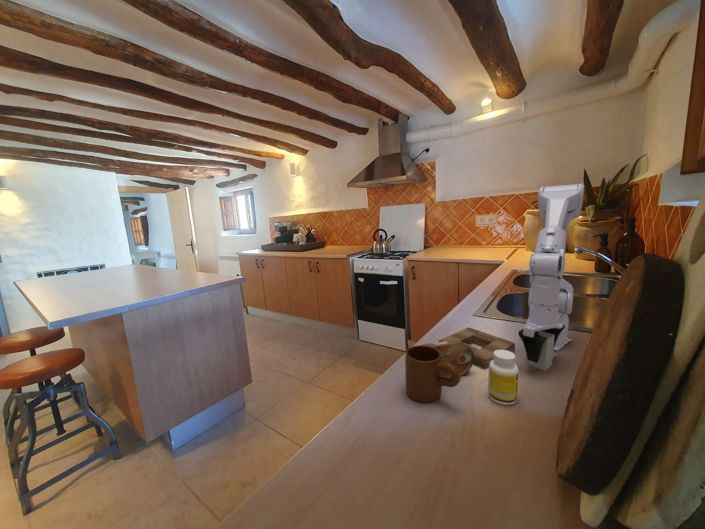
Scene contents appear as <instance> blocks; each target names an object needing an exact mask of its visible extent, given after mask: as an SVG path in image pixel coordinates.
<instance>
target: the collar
mask: <svg viewBox="0 0 705 529" xmlns="http://www.w3.org/2000/svg"><path fill="white" fill-rule="evenodd" d="M449 340H458V341H461V342H463V343H464V344H466V345H468V346H469V347H470V348H471V349H472V351H473V354H474V361H473V365H474V366H476V367H478V368H481V369H484V370H487V369H489V363H490V362H491V361H492V360H493V353H494V351H495V350H507V351H510V352H512V353H515V352H516V350H515V349H516V343H515V342H513V341H510V340H507V339H505V338H501V337H499V336H496V335H493V334H489V333H486V332H483V331H481V330H478V329H475V328H473V327H466V328H465V329H464V328H463V329H462V330H459V331H457V332H455V333H453V334H450V335H448V336H446V337H444V338H442V339H441V338H440V339H439V340H438V342H442V341H449ZM471 344H473V345H476V346H479V347H481V348H478V347H476V346H473V345H471Z"/></svg>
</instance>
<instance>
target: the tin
mask: <svg viewBox="0 0 705 529" xmlns="http://www.w3.org/2000/svg"><path fill="white" fill-rule="evenodd" d="M422 345H424V346H430V347H433V348H435V349H437V350H439V351H440V353H441V359H442V363H450V364H452V365H454V366H455V367H456V368H457V369H458V370H459V373H460V377H462V376H464V375H466V374H467V373H468V372H469V371H470V370H471V368H472V367H473V365H474V364H473V361H474V354H473V351H472V349H471V348H470V347H469V346H468V345H466V344H464V343H463V342H461V341H458V340H449V341H442V342H439V341H435V342H430V343H424V344H422ZM442 377H446V378H449V379H450V378H451V377H452V374H451V373H450V372H449V371H442Z"/></svg>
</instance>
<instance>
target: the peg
mask: <svg viewBox="0 0 705 529" xmlns="http://www.w3.org/2000/svg"><path fill="white" fill-rule="evenodd" d="M538 334H540V336H543V337H546V338H548V339H547V340H546V341H545V343H544V345H543V347H542V350H541V354H540V358H539V361H538V362H537V363H535V362H533V361H530V360H528V359H527V358H526V365H528V366H531V367H534V368H536V369H538V370H541V371H544V372H545V371H547V370H549V368H551V367H552V366H553V361H554V360H553V358H554V350H553V349H554V336H555V335H554V334H550V333H547V332H543V331H538ZM550 366H551V367H550Z"/></svg>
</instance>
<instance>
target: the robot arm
mask: <svg viewBox="0 0 705 529" xmlns="http://www.w3.org/2000/svg"><path fill="white" fill-rule="evenodd" d="M584 191H585V185H584V184H583V183H577V184H574V183H573V184H565V185H564V184H562V185H549V186H543V185H542V186H541V187H540V188H539V189H538V194H537V207H538V213H539V216H540V218H541V219H543V220H545V227H544V228H542V229H541V230H540V231H539V232H538V235H537V240H536V245H535V249H534V254H531V255H530V258H529V263H528V264H529V265H528V271H529V272H528V273H529V284H531V285H530V289H529V292H528V303H527V304H528V307H529V308H528V318H527V319H526V320H527V321H526V324H525V325H524V326H523V328H522V329H520V330H518V336H519V338H520V340H521V341H522V344H523V347H524V350H525V354H526V360H527V359H528V360H530V361H533V362H535V363H537V362H538V361H539V358H540V354H541V350H542V347H543V345H544V343H545V341H546V340H547V339H548V338H546V337H543V336H540V334H538V331H543V332H547V333H550V334H554V335H555V336H554V349H553V351H559V350H561V349H562V348H564V347H565V346H566V345H568V344H569V343H570V342H572V339H571V338H568V334H569V323H570V320H569V316H568V315H570V314H572V310H573V302H574V287H573V285H572V283H570V282H568V281H567V280H566V279H564V278H563V276H564V273H565V266H566V256H565V255H566V249H567V248H566V247H567V238H568V231H569V227H570V225H571V222H572V221H573V220H575V219H577V218H580V214H581V213H582V206H583V201H584ZM569 341H570V342H569ZM568 342H569V343H568ZM567 343H568V344H567ZM565 344H566V345H565ZM564 345H565V346H564Z"/></svg>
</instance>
